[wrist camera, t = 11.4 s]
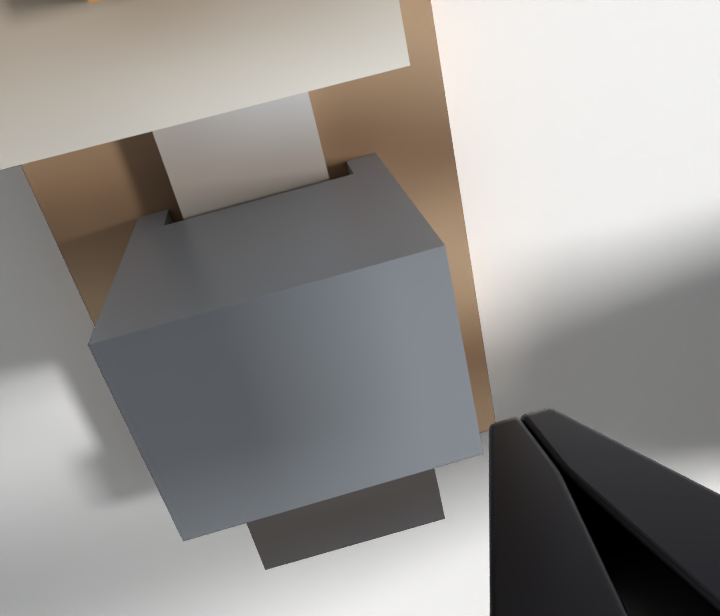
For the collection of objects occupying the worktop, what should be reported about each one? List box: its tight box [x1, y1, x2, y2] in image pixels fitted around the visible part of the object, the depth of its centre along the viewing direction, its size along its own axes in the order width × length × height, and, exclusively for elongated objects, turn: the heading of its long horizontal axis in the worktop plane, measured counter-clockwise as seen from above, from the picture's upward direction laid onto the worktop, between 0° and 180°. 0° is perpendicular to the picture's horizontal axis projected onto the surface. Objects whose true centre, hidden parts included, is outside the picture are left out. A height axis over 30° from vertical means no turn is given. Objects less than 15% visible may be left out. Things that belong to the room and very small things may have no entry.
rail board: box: [0, 0, 495, 570], centre depth 15 cm, size 18×10×10 cm, turn 12°
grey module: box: [88, 153, 483, 541], centre depth 15 cm, size 4×6×6 cm
